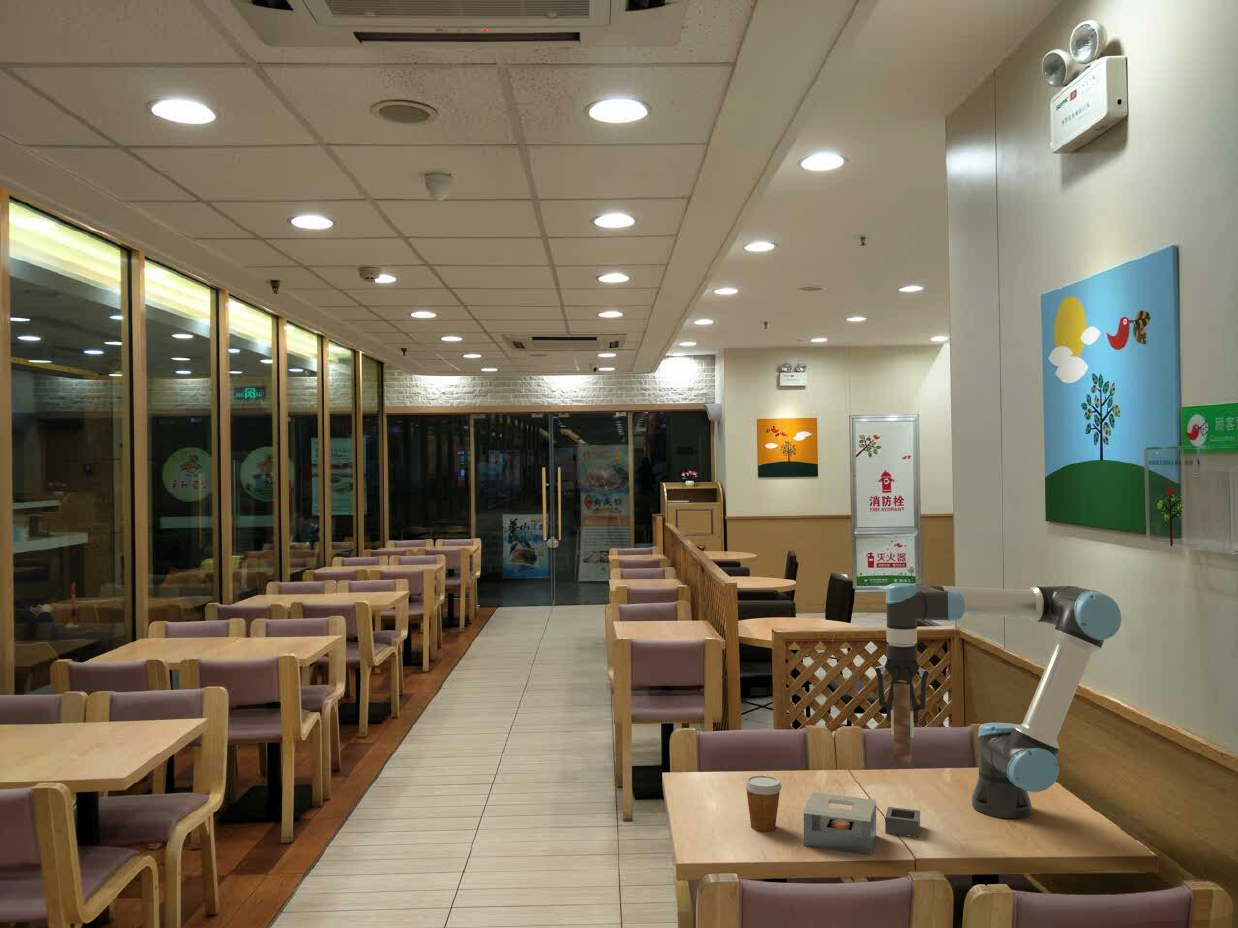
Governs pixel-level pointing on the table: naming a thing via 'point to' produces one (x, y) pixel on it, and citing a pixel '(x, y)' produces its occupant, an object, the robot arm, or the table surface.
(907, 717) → the brown wooden bar
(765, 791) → the disposable coffee cup
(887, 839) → the table surface
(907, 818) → the gray square socket
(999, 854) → the table surface
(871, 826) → the box
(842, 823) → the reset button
